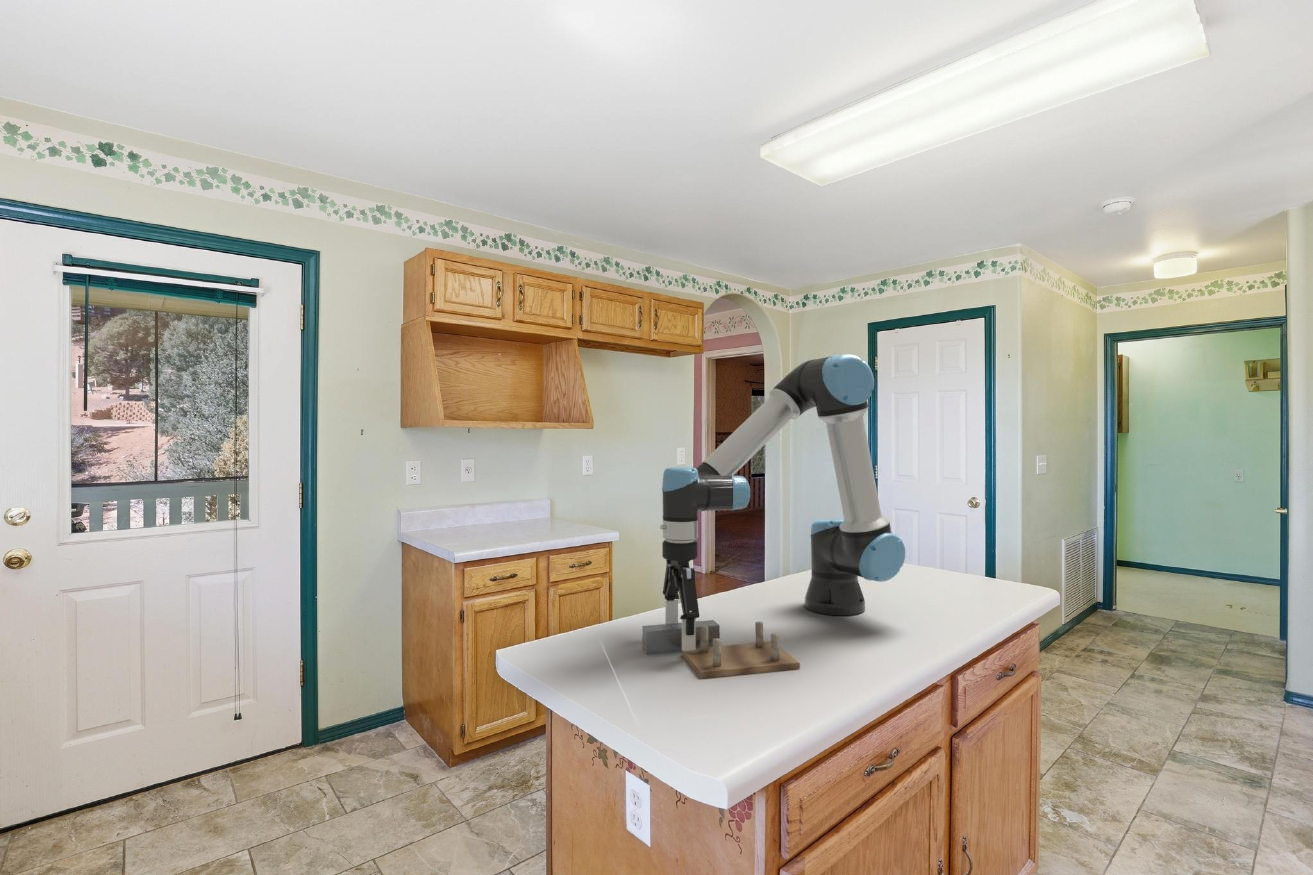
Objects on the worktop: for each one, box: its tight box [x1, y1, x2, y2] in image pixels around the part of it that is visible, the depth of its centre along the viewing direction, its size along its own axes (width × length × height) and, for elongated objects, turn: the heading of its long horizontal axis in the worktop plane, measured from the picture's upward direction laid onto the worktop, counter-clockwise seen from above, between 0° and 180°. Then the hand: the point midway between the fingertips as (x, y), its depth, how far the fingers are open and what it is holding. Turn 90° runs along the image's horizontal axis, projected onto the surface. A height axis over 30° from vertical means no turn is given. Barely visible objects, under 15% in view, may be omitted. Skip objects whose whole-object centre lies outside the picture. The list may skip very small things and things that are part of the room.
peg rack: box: [681, 621, 801, 680], centre depth 128 cm, size 20×13×6 cm, turn 103°
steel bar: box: [641, 619, 721, 655], centre depth 137 cm, size 16×4×5 cm, turn 104°
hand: (679, 639), depth 137 cm, fingers open, 13 cm apart
